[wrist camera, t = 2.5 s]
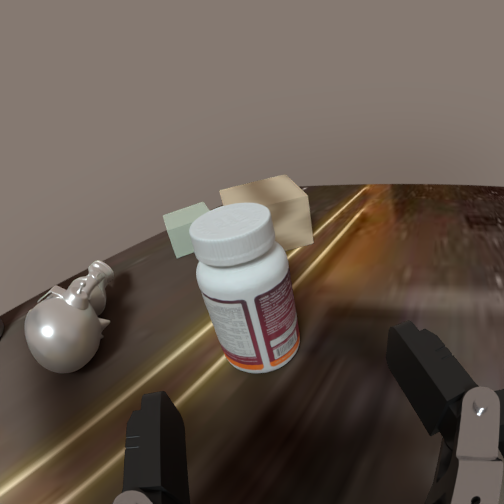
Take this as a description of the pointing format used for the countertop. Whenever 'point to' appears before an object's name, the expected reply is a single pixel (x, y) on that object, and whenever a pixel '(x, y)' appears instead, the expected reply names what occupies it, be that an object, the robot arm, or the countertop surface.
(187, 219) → the sage block
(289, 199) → the oak block
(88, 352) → the figurine
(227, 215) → the pill bottle
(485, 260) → the countertop surface
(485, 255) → the countertop surface
